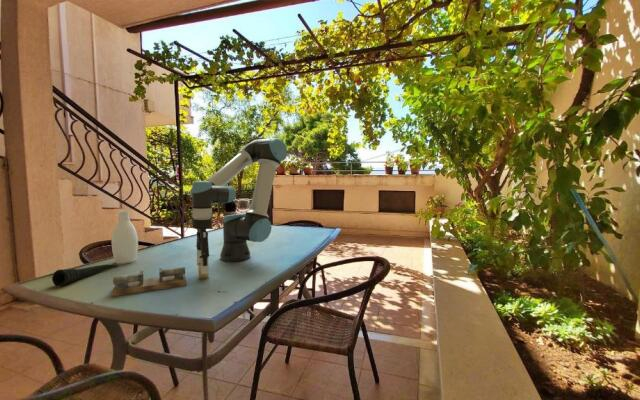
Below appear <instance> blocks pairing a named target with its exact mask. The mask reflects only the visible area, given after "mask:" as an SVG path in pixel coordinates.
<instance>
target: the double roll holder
mask: <svg viewBox="0 0 640 400" xmlns="http://www.w3.org/2000/svg"><path fill="white" fill-rule="evenodd" d="M158 271H159V275H158V277H157V276H156V277H150V278H144V270H140V271H139V273H134V274H126V275H125V274H124V275H117V276H113V278H112V283H113V284H112V285H114V286H113V288H112V292H111V293H112V297H117V296H125V295H131V294H136V293H137V294H138V293H144V292H150V291H157V290H158V291H159V290H162V289H164V290H165V289H170V288H177V287H184V286H187V283H188V282H187V277H186V267H185V266H182V267H176V268H175V267H174V268H166V269H163V268H162V267H160V268H159V270H158Z"/></svg>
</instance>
